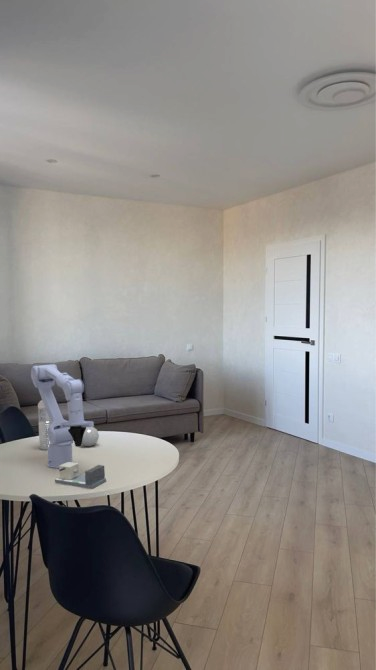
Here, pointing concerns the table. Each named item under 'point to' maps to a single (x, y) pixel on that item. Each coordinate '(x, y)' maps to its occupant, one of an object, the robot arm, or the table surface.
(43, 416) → the water bottle
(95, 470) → the grey rectangular block
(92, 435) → the glossy grey ball
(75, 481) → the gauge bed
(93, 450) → the table surface
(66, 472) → the off-white block with tab
